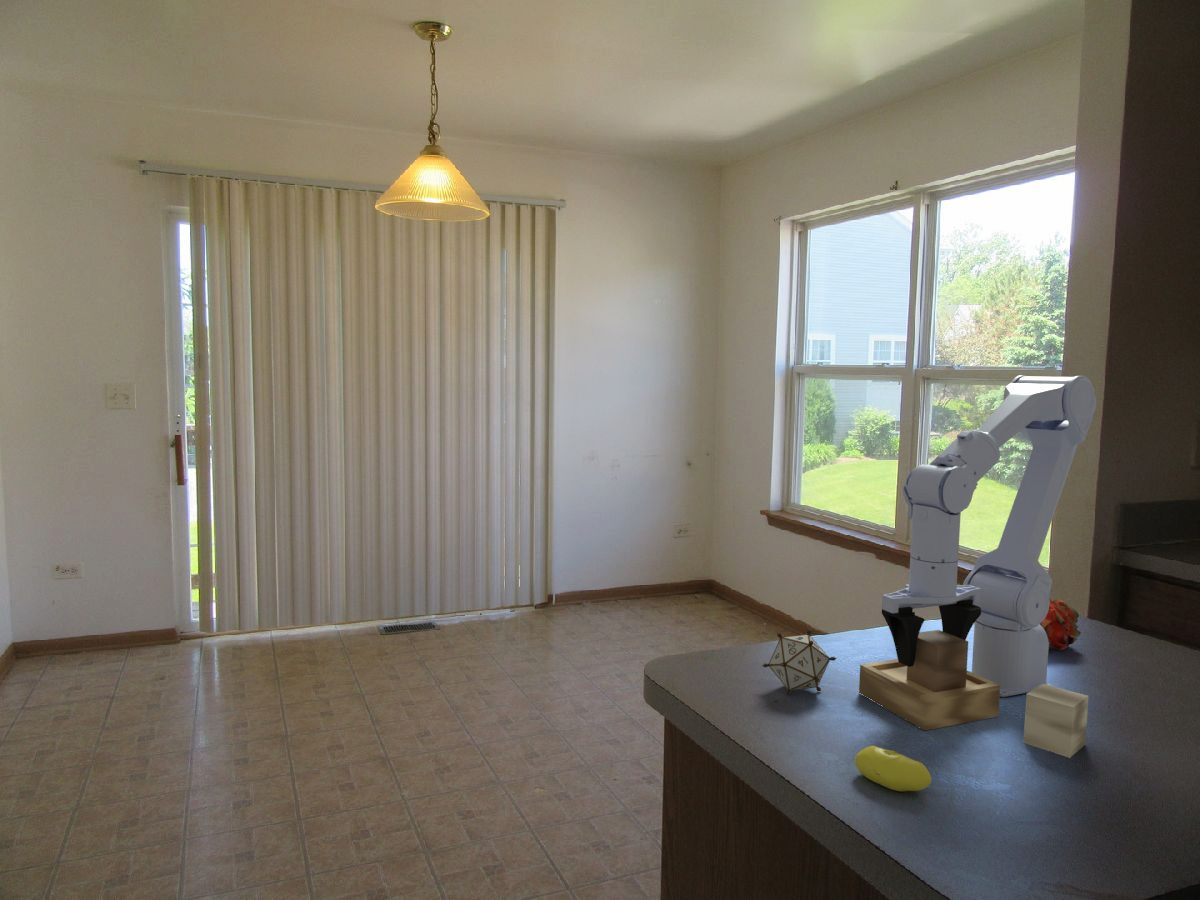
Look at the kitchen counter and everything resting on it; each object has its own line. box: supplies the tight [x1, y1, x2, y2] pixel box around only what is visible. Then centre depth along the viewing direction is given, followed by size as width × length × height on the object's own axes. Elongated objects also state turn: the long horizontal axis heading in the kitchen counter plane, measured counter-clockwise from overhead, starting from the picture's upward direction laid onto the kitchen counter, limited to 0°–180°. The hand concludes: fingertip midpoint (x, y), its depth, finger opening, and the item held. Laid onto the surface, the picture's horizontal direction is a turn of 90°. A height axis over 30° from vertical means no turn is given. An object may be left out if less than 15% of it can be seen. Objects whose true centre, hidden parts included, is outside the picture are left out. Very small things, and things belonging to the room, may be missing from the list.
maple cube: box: [1022, 684, 1089, 759], centre depth 95 cm, size 5×5×6 cm
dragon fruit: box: [1040, 596, 1082, 651], centre depth 129 cm, size 8×8×12 cm
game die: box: [761, 628, 837, 697], centre depth 110 cm, size 9×8×10 cm
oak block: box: [858, 658, 1001, 731], centre depth 106 cm, size 12×12×4 cm
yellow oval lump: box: [854, 745, 932, 793], centre depth 85 cm, size 4×8×4 cm, turn 44°
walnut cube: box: [907, 629, 969, 692], centre depth 104 cm, size 5×5×6 cm
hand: (928, 660), depth 105 cm, fingers open, 7 cm apart
